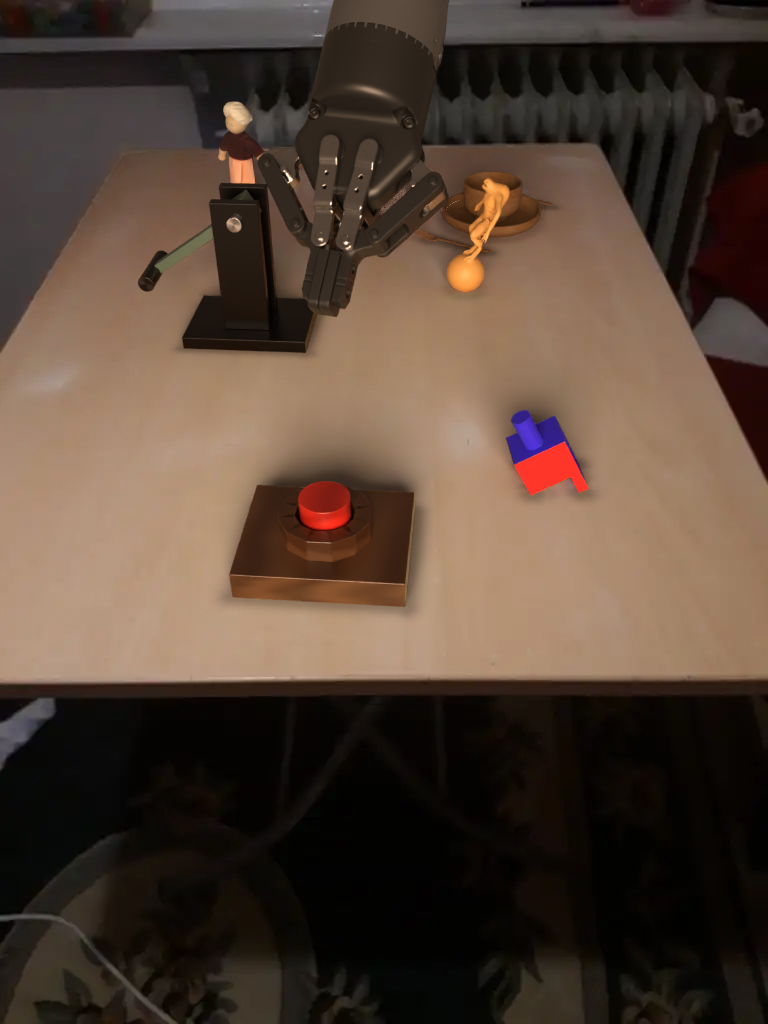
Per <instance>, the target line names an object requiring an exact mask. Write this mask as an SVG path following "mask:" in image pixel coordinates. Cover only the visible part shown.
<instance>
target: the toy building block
mask: <svg viewBox="0 0 768 1024" xmlns="http://www.w3.org/2000/svg"><path fill="white" fill-rule="evenodd" d="M530 412H531V411H529V410H528V409H522V410H519V411H516V412H515V413H514V414H513V415H512V416H511V418H510V422H511V424H512V426H513V428H514V430H515V431H516V433H513V434H511V435H508V436H507V437H505V440H506V443H507V447H508V450H509V454H510V456H511V460H512V463H513V466H514V468H515V470H516V471H517V473H518V475H519V476H520V478H521V480H522V482H523V484H524V485H525V487H526V489H527V491H528V493H529V495H530V496H533V495H535V494H537V493H540V492H542V491H545V490H547V489H549V488H551V487H553V486H556V485H558V484H560V483H562V482H564V481H566V480H569V479H571V480H572V483H573V485H574V486H575V488H576V490H577V492H578V493H582V492H583V491H587V490H588V489H589V486H588V483H587V481H586V478H585V475H584V473H583V471H582V468H581V465H580V462H579V460H578V459H577V456H576V455H575V452H574V450H573V448H572V446H571V445H570V442H569V441H568V439H567V436H566V434H565V433H564V431H563V429H562V427H561V425H560V423H559V421H558V419H557V417H556V415H552V416H550V417H548V418H546V419H543V420H541V421H538V422H537V423H536V422H535V420H534V419H533V416H532V414H531V413H530Z"/></svg>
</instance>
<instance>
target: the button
mask: <svg viewBox="0 0 768 1024" xmlns="http://www.w3.org/2000/svg"><path fill="white" fill-rule="evenodd" d="M343 485H344V484H343ZM343 485H341V483H339V482H336V481H330V480H322V481H315V482H311V483H309V484H307V485H306V486H304V487H305V488H303V489H302V491H301V492H300V494H299V497H298V501H299V513H300V520H301V522H302V524H303V525H304V526H305V527H307V528H308V529H310V530H313V531H332V530H335V529H339V528H342V527H344V526H345V525H346V524H347V523H348V522H349V520H350V518H351V502H350V493H349V491H348V489H347V488H346V487H344V486H343Z"/></svg>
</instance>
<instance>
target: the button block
mask: <svg viewBox="0 0 768 1024" xmlns="http://www.w3.org/2000/svg"><path fill="white" fill-rule="evenodd" d="M340 484H341V483H340ZM341 485H343V486H344V487H346V488H347V489H348V491H349V493H350V502H351V518H350V520H349V522H348V523H347V524H346V525H345V526H344V527H342V528H339V529H335V530H332V531H313V530H310V529H308V528H307V527H305V526H304V525H303V524H302V522H301V520H300V513H299V501H298V497H299V494H300V492H301V491H302V489H303V488H305V487H306V486H294V485H273V484H272V485H270V484H257V485H256V486H255V489H254V493H253V495H252V496H253V497H252V500H251V503H250V506H249V510H248V512H247V517H246V518H245V522H244V526H243V528H242V531H241V535H240V538H239V542H238V545H237V548H236V551H235V554H234V557H233V560H232V564H231V567H230V571H229V574H228V577H229V582H230V583H229V584H230V589H231V595H232V598H238V599H256V600H257V599H258V600H273V601H289V602H290V601H291V602H306V603H307V602H309V603H327V604H343V605H344V604H346V605H362V606H379V607H397V608H405V607H406V605H407V604H406V602H407V594H408V593H407V592H408V582H409V573H410V563H411V555H412V554H411V552H412V542H413V532H414V521H415V507H416V506H415V502H416V499H415V497H416V495H415V491H402V490H401V491H398V490H396V491H395V490H378V489H377V490H374V489H359V488H357V489H356V488H353V487H350V486H348V485H346V484H343V483H342V484H341Z"/></svg>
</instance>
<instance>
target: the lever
mask: <svg viewBox="0 0 768 1024" xmlns="http://www.w3.org/2000/svg"><path fill="white" fill-rule="evenodd" d="M231 200H254V199H253V198H252V196H251V195H250V194H249V192H248V191H247V190H244V191H243V192H242V193H240V194H239V195H237V196H236V197H234V198H233V199H231ZM261 212H262V210H261V208H260V214H261ZM212 240H214V239H213V232H212V224H209V225H208V226H207V227H205V228H204V229H202V230H201V231H199V232H197V233H195V235H193V236H191V238H189V239H187V240H186V241H184V242H183V243H182V244H180V245H179V246H177V247H176V248H174V249H173V250H172V251H170V252H169V253H168V252H167V251H165V250H157V251H156V252H155V254H154V255H153V257H152V258H151V260H150V261H149V263H148V264H147V266H146V267H145V268H144V271H143V272H142V274H141V275H140V277H139V278H138V280H137V286H138V287H139V289H140V290H141V291H143V292H145V293H148V292H152V291H153V290H154V289H155V288H156V285H157V283H158V282H159V280H160V279H161V277H162V276H163V274H164V272H166V271H168V270H169V269H171V268H172V267H173V266H175V265H177V264H179V263H180V262H182V260H185V258H187V257H189V256H190V255H192V254H193V253H194V252H196V251H197V250H199V249H200V248H202V247H203V246H205V245H207V244H208V243H209V242H211V241H212Z"/></svg>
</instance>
